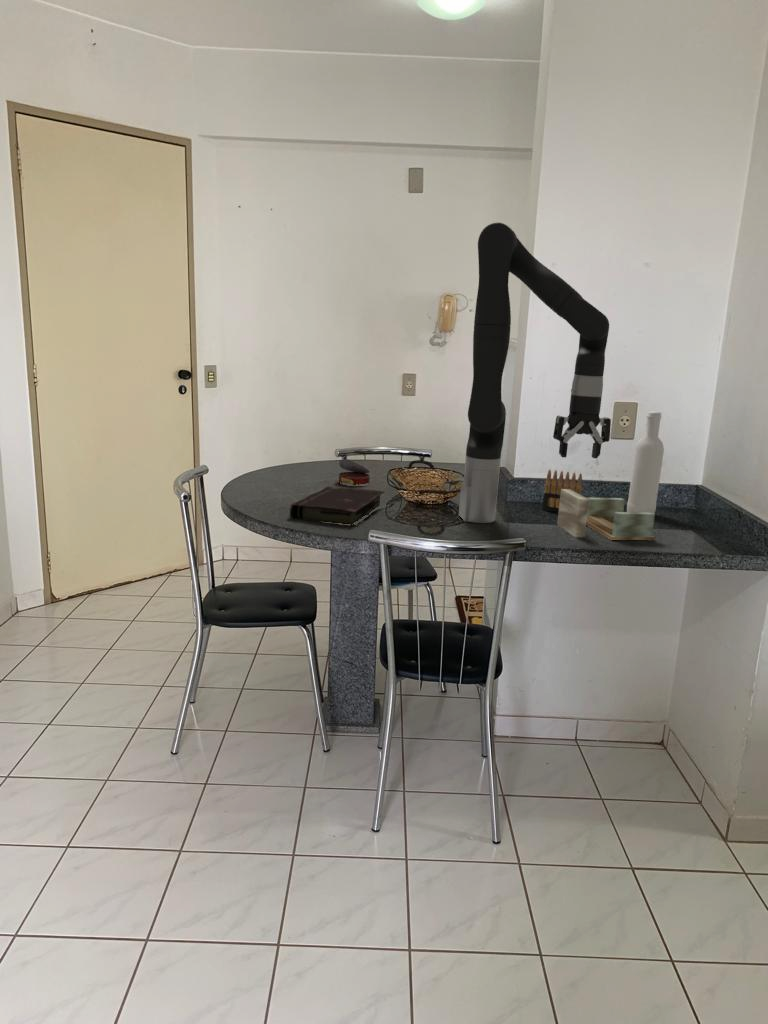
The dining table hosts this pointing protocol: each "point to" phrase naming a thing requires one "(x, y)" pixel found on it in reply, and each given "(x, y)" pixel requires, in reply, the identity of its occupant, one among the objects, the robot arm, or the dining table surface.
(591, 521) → the slat holder
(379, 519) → the dining table surface
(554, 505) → the ammunition clip
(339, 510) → the diary
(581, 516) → the ash slat
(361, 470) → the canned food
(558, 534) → the dining table surface
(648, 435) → the bottle
